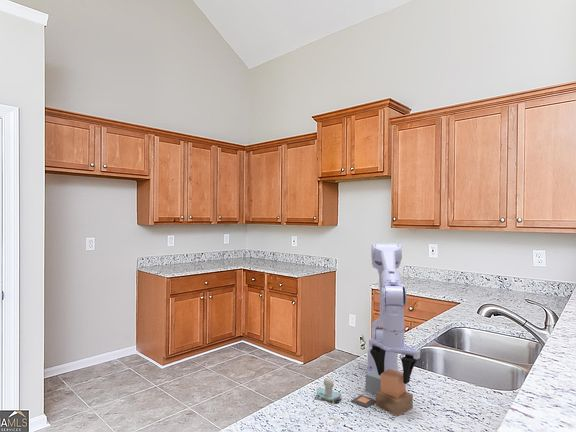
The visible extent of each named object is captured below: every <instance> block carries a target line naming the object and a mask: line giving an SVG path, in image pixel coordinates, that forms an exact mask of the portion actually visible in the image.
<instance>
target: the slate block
mask: <svg viewBox="0 0 576 432" xmlns="http://www.w3.org/2000/svg"><path fill="white" fill-rule="evenodd" d="M364 389H365V392H366V393H367V392H368V393H370V394H372V395H375V396H376V392H378V391H380V390H381V376H380V375H378V371H376V370H373V371H371V372H369V373H366V374H365V388H364Z"/></svg>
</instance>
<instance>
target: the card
mask: <svg viewBox="0 0 576 432" xmlns="http://www.w3.org/2000/svg"><path fill="white" fill-rule="evenodd" d="M350 401H351V403H353V404H355V405H359V406H360V407H362V408H365V409H368V408H369V407H371V406H372V405H374V404H376V399H373V398H371V397H369V396H365V395H363V394H360V395H357V397H355V398H353V399H351V400H350Z"/></svg>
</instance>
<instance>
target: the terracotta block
mask: <svg viewBox="0 0 576 432" xmlns="http://www.w3.org/2000/svg"><path fill="white" fill-rule="evenodd" d="M406 385H407V384H404V383H403V371H395V370H392V369H388V370H386V371H385V372H383V373H381V392H382V393H384V394H387V395H390V396H393V397H396V398H399V397H400V396H401V395H402V394H404V393H405V392H407V391H406V390H407V389H406Z"/></svg>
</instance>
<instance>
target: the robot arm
mask: <svg viewBox="0 0 576 432" xmlns="http://www.w3.org/2000/svg"><path fill="white" fill-rule="evenodd" d="M402 249H403V246H402V245H401V244H400V243H377V242H376V243H375V242H373V243H372V244H371V250H370V251H371V254H370V256H371V265H372V267H373V268H374V269H376V270H377V272H378V278H379V280H378V282H379V284H378V285H379V293H378V294H379V317H378V318H376V319H375V320H373V321H372V323H371V337H370V339H368V349H367V350H368V351H367V370H366V374H367V373H369V372H371V371H373V370H376V371H378V375H380V376H381V373H383V372H385V371H386V370H388V369H392V370H395V371H398V366H399V363H398V362H399V360H398V356H399V355H403V357H401V359H400V361H401V365H402V373H403V383H404V384H406V385H407V384H408V383H410V380H411V376H412V372H413V369H414V366H415V364H416V362H418V359H420V358H421V350H420V349H416V348H413V347H412V346H409V345H406V344H405V307H406V305H407V290H406V286H405V285H404V284H403V281H402V278H401V277H402V276H401V273H400V271H399V270H397V269H399V268H400V266H401V262H402V257H403V250H402ZM398 354H399V355H398ZM398 372H399V371H398Z"/></svg>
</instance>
